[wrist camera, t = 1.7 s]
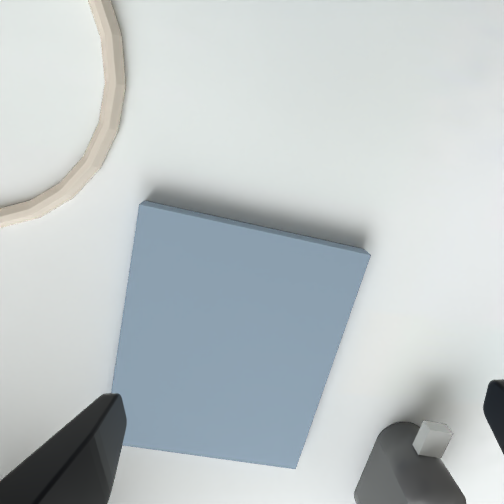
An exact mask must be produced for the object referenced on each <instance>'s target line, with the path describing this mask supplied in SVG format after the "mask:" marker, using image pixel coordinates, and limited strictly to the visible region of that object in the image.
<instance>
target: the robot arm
mask: <svg viewBox="0 0 504 504" xmlns="http://www.w3.org/2000/svg"><path fill="white" fill-rule="evenodd" d="M483 410H484V414H485V417H486V419H487V421H488V423H489V425H490V427H491V429H492V431H493V434H494V436H495V438H496V440H497V442H498V444H499V446H500V448H501V450H502V452H503V454H504V380H492V381H491V382H490V383H489V385H488V389H487V393H486V397H485V401H484V405H483ZM126 426H127V418H126V413H125V409H124V405H123V400H122V397H121V395H120V394H118V393H109V394H103V395H101V396H100V397H98V398H97V399H96V400H95V401H94V402H93V403H91V404H90V405H89V406H88V407H87V408H86V409H84V410H83V411H82V412H81V413H80V414H78V415H77V416H76V417H75V418H74V419H73V420H71V421H70V422H69V423H68V424H67V425H66V426H64V427H63V428H62V429H61V430H60V431H58V432H57V433H56V434H55V435H54V436H53V437H51V438H50V439H49V440H48V441H47V442H46V443H44V444H43V445H42V446H41V447H40V448H38V449H37V450H36V451H35V452H34V453H33V454H31V455H30V456H29V457H28V458H27V459H25V460H24V461H23V462H22V463H21V464H20V465H18V466H17V467H16V468H15V469H14V470H13V471H11V472H10V473H9V474H8V475H7V476H5V477H4V478H3V479H2V480H1V481H0V504H107V503H108V500H109V497H110V494H111V490H112V486H113V482H114V478H115V474H116V470H117V465H118V461H119V457H120V453H121V448H122V444H123V440H124V436H125V431H126Z"/></svg>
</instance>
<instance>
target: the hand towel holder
mask: <svg viewBox="0 0 504 504" xmlns="http://www.w3.org/2000/svg"><path fill="white" fill-rule="evenodd" d="M88 2H89V5H90V8H91V11H92V14H93V17H94V20H95V23H96V26H97V29H98V32H99V35H100V38H101V47H102V58H103V68H104V79H105V85H104V92H103V98H102V104H101V111H100V117H99V123H98V125H97V127H96V129H95V132H94V134H93V136H92V138H91V140H90V143H89V145H88V147H87V149H86V151H85V153H84V156H83V157H82V158H81V159H80V160H79V162H78V163H77V164H76V165H75V166H74V167H73V168H72V169H71V171H70V172H69V173H68V174H67V175H66V176H65V177H64V178H63V179H62V181H61V182H60V183H58V184H57V185H55V186H53V187H52V188H50V189H48V190H47V191H45V192H43V193H42V194H40V195H38V196H37V197H35V198H33V199H32V200H30V201H26V202H22V203H19V204H15V205H11V206H7V207H3V208H0V228H2V227H6V226H10V225H14V224H18V223H22V222H26V221H29V220H33V219H37V218H40V217H42V216H44V215H46V214H47V213H49V212H51V211H52V210H54V209H56V208H57V207H59V206H61V205H62V204H64V203H66V202H67V201H69V200H71V199H73V198H74V197H75V196H76V195H77V194H78V192H79V191H80V190H81V189H82V188H83V187H84V186H85V185H86V184H87V183H88V182H89V180H90V179H91V178H92V177H93V176H94V175H95V174H96V173H97V172H98V171H99V169H100V168H101V166H102V164H103V162H104V160H105V157H106V155H107V153H108V151H109V149H110V147H111V145H112V143H113V141H114V139H115V137H116V134H117V132H118V129H119V123H120V117H121V111H122V106H123V100H124V94H125V88H126V82H125V69H124V57H123V44H122V35H121V32H120V29H119V25H118V22H117V19H116V16H115V13H114V10H113V7H112V3H111V0H88Z"/></svg>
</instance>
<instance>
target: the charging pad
mask: <svg viewBox="0 0 504 504" xmlns="http://www.w3.org/2000/svg"><path fill="white" fill-rule="evenodd" d="M370 256H371V255H370V254H369V253H368V252H367V251H365V250H364V249H362V248H357V247H353V246H348V245H344V244H339V243H335V242H330V241H326V240H321V239H317V238H312V237H308V236H303V235H299V234H294V233H290V232H285V231H280V230H276V229H271V228H267V227H262V226H258V225H253V224H249V223H244V222H240V221H235V220H231V219H226V218H222V217H217V216H213V215H208V214H203V213H199V212H194V211H190V210H185V209H181V208H176V207H172V206H167V205H163V204H158V203H154V202H149V201H143V202H142V203H141V204H139V210H138V217H137V224H136V231H135V237H134V244H133V251H132V257H131V264H130V271H129V278H128V284H127V291H126V298H125V305H124V311H123V318H122V325H121V332H120V338H119V345H118V352H117V358H116V365H115V372H114V379H113V385H112V392H111V393H118V394H120V395H121V397H122V400H123V405H124V409H125V413H126V418H127V426H126V431H125V436H124V440H123V444H122V445H125V446H132V447H139V448H146V449H153V450H161V451H168V452H175V453H182V454H190V455H197V456H204V457H211V458H218V459H226V460H233V461H240V462H247V463H254V464H262V465H269V466H276V467H283V468H291V469H296V466H297V464H298V461H299V458H300V455H301V452H302V449H303V446H304V444H305V441H306V438H307V435H308V432H309V429H310V427H311V424H312V421H313V418H314V415H315V412H316V410H317V407H318V404H319V401H320V398H321V395H322V392H323V390H324V387H325V384H326V381H327V378H328V375H329V373H330V370H331V367H332V364H333V361H334V358H335V355H336V353H337V350H338V347H339V344H340V341H341V338H342V336H343V333H344V330H345V327H346V324H347V321H348V319H349V316H350V313H351V310H352V307H353V304H354V301H355V299H356V296H357V293H358V290H359V287H360V284H361V282H362V279H363V276H364V273H365V270H366V267H367V265H368V262H369V259H370Z"/></svg>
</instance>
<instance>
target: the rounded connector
mask: <svg viewBox="0 0 504 504" xmlns="http://www.w3.org/2000/svg"><path fill="white" fill-rule="evenodd" d="M452 435H453V433H452V431H451V430H450V429H449V427H448V426H447V425H446V424H442V423H436V422H430V421H423V423H422V425H421V427H418V426H417V425H415V424H413V423H409V422H400V423H395V424H392V425H390V426H388V427H387V428H385V429H384V430H383V431H382V432H381V433H380V434H379V436H378V438H377V440H376V442H375V445H374V447H373V449H372V452H371V454H370V456H369V459H368V461H367V464H366V466H365V468H364V471H363V473H362V475H361V478H360V480H359V482H358V485H357V487H356V490H355V493H354V498H355V501H356V504H466V499H465V496H464V495H463V493H462V492H461V490H460V489H459V487H458V485H457V484H456V482H455V481H454V479H453V478H452V476H451V475H450V473H449V471H448V470H447V468H446V467H445V465H444V464H443V462H442V461H441V459H440V458H441V457H442V455H443V453H444V451H445V449H446V447H447V445H448V443H449V441H450V439H451V437H452Z"/></svg>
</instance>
